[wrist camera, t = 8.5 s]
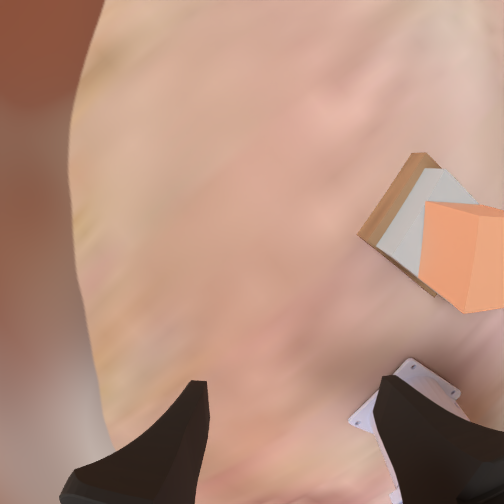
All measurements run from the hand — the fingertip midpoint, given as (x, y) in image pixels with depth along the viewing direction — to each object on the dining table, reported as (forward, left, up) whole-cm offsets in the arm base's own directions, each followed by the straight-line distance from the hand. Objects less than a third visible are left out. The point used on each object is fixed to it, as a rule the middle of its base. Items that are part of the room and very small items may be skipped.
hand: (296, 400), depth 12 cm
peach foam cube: (-5, -10, -6) cm, 13 cm away
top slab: (-5, -10, -8) cm, 14 cm away
